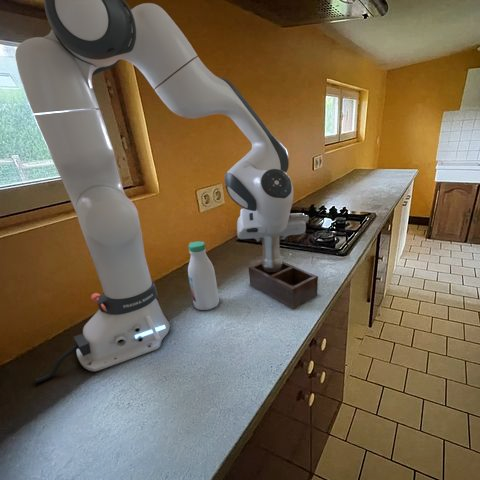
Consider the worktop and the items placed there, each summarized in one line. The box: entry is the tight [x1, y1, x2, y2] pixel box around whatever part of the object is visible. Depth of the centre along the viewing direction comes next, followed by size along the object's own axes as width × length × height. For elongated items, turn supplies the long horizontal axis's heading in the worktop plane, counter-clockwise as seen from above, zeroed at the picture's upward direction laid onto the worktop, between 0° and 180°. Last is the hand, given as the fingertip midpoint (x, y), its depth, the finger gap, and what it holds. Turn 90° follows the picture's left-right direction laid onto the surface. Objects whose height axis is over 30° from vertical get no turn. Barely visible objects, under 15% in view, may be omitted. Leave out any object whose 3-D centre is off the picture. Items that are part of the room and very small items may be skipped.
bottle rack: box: [248, 260, 319, 310], centre depth 97 cm, size 11×21×7 cm, turn 42°
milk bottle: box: [187, 240, 220, 311], centre depth 89 cm, size 8×8×20 cm
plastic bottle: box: [261, 236, 283, 272], centre depth 95 cm, size 6×7×20 cm
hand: (270, 238), depth 95 cm, fingers closed on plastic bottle, 6 cm apart
